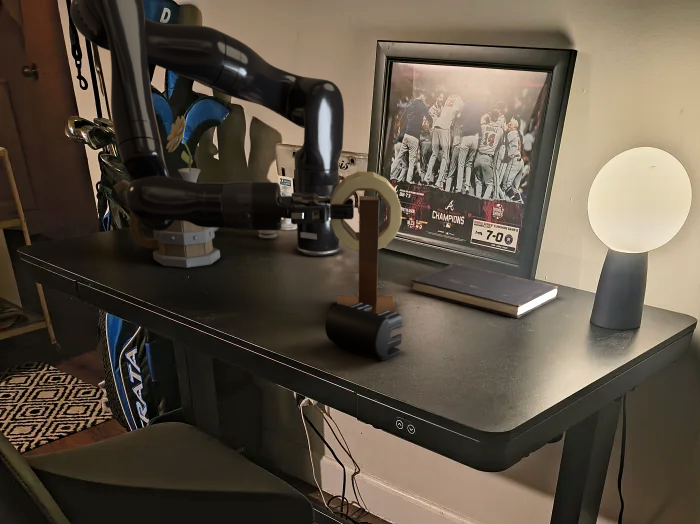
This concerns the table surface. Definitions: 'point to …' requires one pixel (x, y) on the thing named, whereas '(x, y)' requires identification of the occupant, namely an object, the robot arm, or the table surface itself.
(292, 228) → the chess piece
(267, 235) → the rook chess piece
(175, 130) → the flower in vase
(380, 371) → the table surface
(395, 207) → the masking tape
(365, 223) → the stand
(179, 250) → the tankard
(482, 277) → the hardcover book
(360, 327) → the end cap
